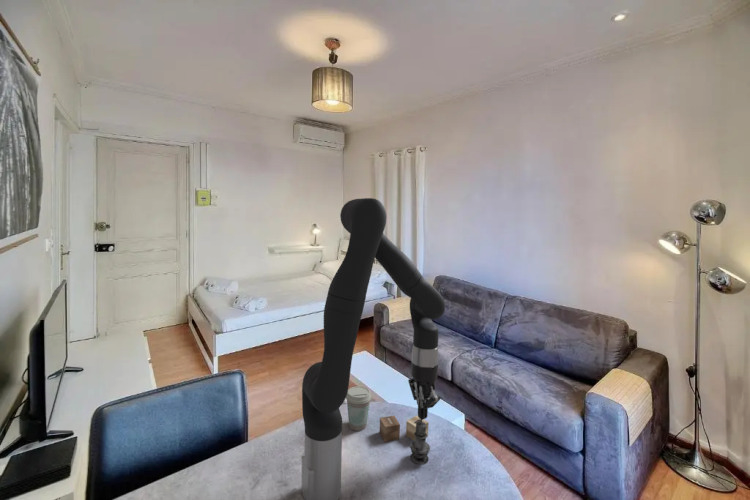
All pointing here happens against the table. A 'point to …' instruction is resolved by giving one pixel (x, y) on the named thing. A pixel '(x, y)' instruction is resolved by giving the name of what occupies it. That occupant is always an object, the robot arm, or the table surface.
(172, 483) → the table surface
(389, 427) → the walnut block digit
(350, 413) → the coffee cup
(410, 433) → the beech block digit
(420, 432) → the black chess piece
